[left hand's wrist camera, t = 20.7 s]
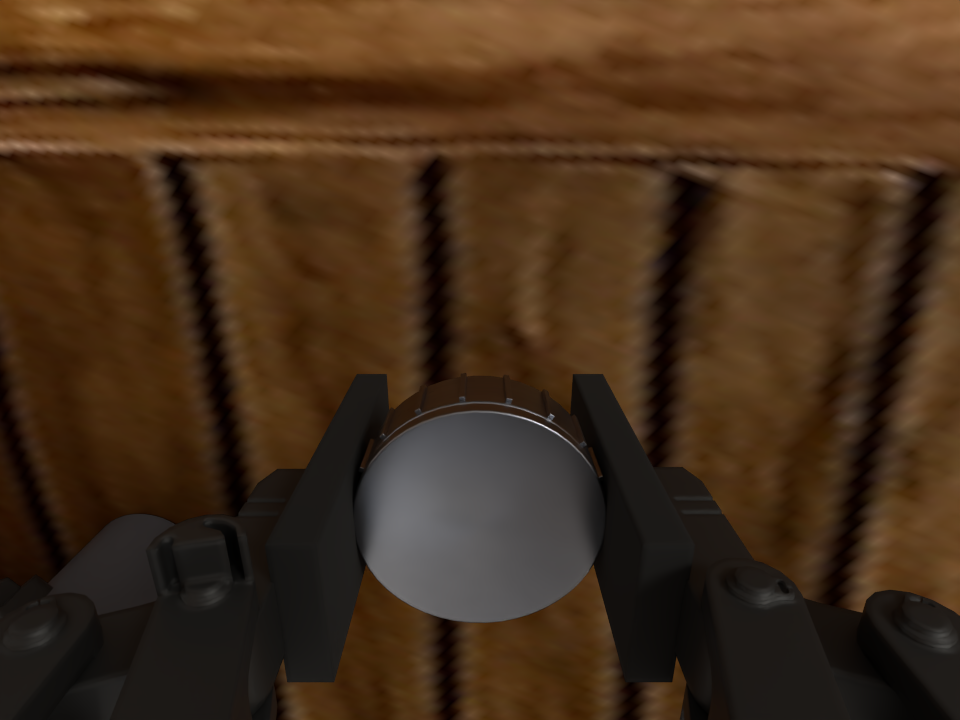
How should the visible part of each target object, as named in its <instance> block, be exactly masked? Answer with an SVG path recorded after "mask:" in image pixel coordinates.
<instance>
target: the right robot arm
mask: <svg viewBox="0 0 960 720" xmlns="http://www.w3.org/2000/svg"><path fill="white" fill-rule="evenodd" d="M52 589H53V587H52V586H51V585H49V584H48V583H47V582H45V581H44V580H43V579H41V578H40V577H39V576H37V575H34V576H33V577H32V578H31V579H29V580H28V581H27V582H26V583H25V584H23V585H22V586H21V587H20V586H19V585H17V584H16V583H15V582H13V581H12V580H11V579H9V578H4V579H0V619H1V618H2V617H4V616H5V615H6V614H8V613H9V612H11V611H13V610H15V609H17V608H19V607H21V606H23V605H24V604H26V603H28V602H31V601H34V600H37V599H40V598H43V597H46V596H47V595H48V594H49V593H50V591H51V590H52Z"/></svg>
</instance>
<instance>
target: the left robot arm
mask: <svg viewBox="0 0 960 720" xmlns="http://www.w3.org/2000/svg"><path fill="white" fill-rule="evenodd" d="M388 411H389V404H388V388H387V374H357V375H356V377H355V379H354V381H353V382H352V384H351V386H350V388H349V390H348V392H347V394H346V395H345V397H344V399H343V401H342V403H341V405H340V407H339V408H338V410H337V412H336V414H335V416H334V418H333V420H332V421H331V423H330V425H329V427H328V429H327V431H326V432H325V434H324V436H323V438H322V440H321V442H320V444H319V445H318V447H317V449H316V451H315V453H314V455H313V457H312V458H311V460H310V462H309V464H308V466H307V468H306V469H277V470H275V471H274V472H273V473H271V474H270V475H268V476H267V477H266V478H264V479H263V480H262V481H260V482H259V483H258V484H257V486H256V487H255V489H254V490H253V492H252V493H251V495H250V496H249V498H248V499H247V500H248V501H247V503H245V504H244V505H243V507H242V508H241V510H240V511H239V515H238V516H236V517H231V516H228V515H224V514H220V515H204V516H199V517H195V518H191V519H187V520H185V521H183V522H180V523H178V524H176V525H174V526H171V527H169V528H168V529H166V530H165V531H164V532H162V533H161V534H160V535H158V536H157V537H155V538H154V540H153V541H152V542H151V543H150V545H149V546H148V547H147V549H146V554H147V558H148V562H149V565H150V569H151V573H152V577H153V581H154V585H155V588H156V592H157V596H158V597H157V599H156V601H153V602H150V603H146V604H143V605H140V606H135V607H131V608H127V609H122V610H118V611H114V612H109V613H105V614H101V615H98V614H97V611H96V608H95V605H94V602H93V601H92V600H91V599H90V598H88V597H87V596H86V595H84V594H78V593H72V592H68V593H61V594H53V595H49V596H46V597H43V598H40V599H37V600H34V601H31V602H28V603H26V604H24V605H23V606H21V607H19V608H17V609H15V610H13V611H11V612H9V613H8V614H6V615H5V616H4V617H2V618H1V619H0V720H276V713H277V702H276V694H275V689H274V681H275V679H276V676H277V673H278V671H279V668H280V666H281V663H282V660H283V658H284V664H285V670H286V676H287V682H334V680H335V677H336V673H337V669H338V666H339V662H340V658H341V655H342V651H343V647H344V644H345V640H346V636H347V633H348V629H349V625H350V621H351V618H352V614H353V610H354V607H355V603H356V599H357V596H358V592H359V588H360V585H361V581H362V577H363V574H364V570H365V566H366V563H365V561H364V559H363V558H362V556H361V553H360V551H359V548H358V545H357V543H356V537H355V528H354V517H353V502H354V497H355V493H356V489H357V486H358V483H359V481H360V478H361V475H362V473H361V472H358V471H359V468H360V465H361V463H362V460H363V457H364V455H365V452H366V449H367V447H368V444H369V441H370V439H373V440H375V438H376V435H377V433H378V431H379V430H380V428H381V426H382V425H383V423H384V422H385V420H386V417H387V414H388ZM573 415H575V416H576V417H577V419H578V422H579V425H580V427H581V430H582V433H583V436H584V438H585V441H586V443H587V446H588V448H590V447H592V448H593V451H594V453H595V456H596V459H597V462H598V464H599V467H600V470H601V472H602V475H603V481H601V485H602V488H603V491H604V495H605V500H606V505H607V512H606V524H605V534H604V541H603V544H602V548H601V550H600V552H599V554H598V557H597V559H596V561H595V562H594V568H595V571H596V575H597V579H598V582H599V586H600V590H601V593H602V597H603V601H604V604H605V608H606V612H607V615H608V619H609V623H610V626H611V630H612V634H613V637H614V641H615V645H616V649H617V652H618V656H619V660H620V663H621V667H622V671H623V674H624V678H625V682H672V680H673V674H674V668H675V662H676V656H677V659H678V661H679V664H680V666H681V669H682V671H683V674H684V677H685V679H686V682H687V683H686V689H685V694H684V700H683V705H682V711H681V716H680V720H960V616H959V615H958V614H956V613H955V612H954V611H952V610H950V609H948V608H946V607H944V606H943V605H941V604H939V603H937V602H935V601H933V600H931V599H928V598H925V597H922V596H919V595H916V594H913V593H910V592H903V591H895V590H886V591H880V592H875V593H874V594H873V595H871V596H870V597H869V598H868V599H867V600H866V603H865V606H864V610H863V613H861V612H856V611H852V610H848V609H843V608H839V607H835V606H830V605H826V604H822V603H818V602H815V601H811V600H808V599H805V598H803V596H802V594H801V593H800V591H799V590H798V588H797V587H796V585H795V584H794V582H792V581H791V580H790V579H789V578H787V577H786V576H785V575H784V574H783V573H781V572H780V571H778V570H776V569H774V568H772V567H770V566H768V565H766V564H764V563H762V562H758V561H754V559H753V558H752V556H751V555H750V553H749V552H748V550H747V549H746V547H745V546H744V544H743V543H742V541H741V540H740V538H739V537H738V535H737V534H736V532H735V531H734V529H733V528H732V526H731V525H730V523H729V522H728V520H727V519H726V517H725V516H724V514H722V513H721V510H720V508H719V507H718V505H717V504H716V502H715V501H713V499H712V496H711V494H710V493H709V491H708V490H707V488H706V487H705V485H704V484H703V482H702V481H701V480H699V479H698V478H697V477H695V476H694V475H692V474H691V473H690V472H688V471H687V470H686V469H684V468H683V467H652V465H651V463H650V461H649V459H648V457H647V455H646V454H645V452H644V450H643V448H642V446H641V444H640V442H639V441H638V439H637V437H636V435H635V433H634V431H633V429H632V428H631V426H630V424H629V422H628V420H627V418H626V416H625V415H624V413H623V411H622V409H621V407H620V405H619V403H618V402H617V400H616V398H615V396H614V394H613V392H612V390H611V389H610V387H609V385H608V383H607V381H606V379H605V378H604V376H603V374H573V383H572V398H571V414H570V416H573Z"/></svg>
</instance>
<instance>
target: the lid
mask: <svg viewBox="0 0 960 720" xmlns="http://www.w3.org/2000/svg"><path fill="white" fill-rule="evenodd" d="M358 472H361V473H362V475H361V478H360V481H359V483H358V486H357V489H356V493H355V497H354V502H353V517H354V528H355V537H356V543H357V545H358V548H359V551H360V553H361V556H362V558H363V559H364V561H365V563H366V565H367V566H368V568H369V569H370V571H371V572H372V573H373V575H374V576H375V577H376V579H377V580H378V581H379V582H380V583H381V584H382V585H383V586H384V587H385V588H386V589H387V590H388V591H390V592H391V593H392V594H394V595H395V596H396V597H397V598H399V599H400V600H402V601H404V602H405V603H407V604H409V605H410V606H412V607H414V608H416V609H419V610H421V611H423V612H425V613H428V614H431V615H434V616H437V617H440V618H445V619H449V620H454V621H461V622H471V623H488V622H500V621H505V620H511V619H516V618H519V617H522V616H526V615H529V614H532V613H534V612H537V611H539V610H541V609H544V608H545V607H547V606H549V605H551V604H553V603H555V602H556V601H558V600H559V599H561V598H562V597H563V596H565V595H566V594H568V593H569V592H570V591H571V590H572V589H573V588H574V587H575V586H576V585H578V584H579V583H580V581H581V580H582V579H583V578H584V577H585V576H586V574H587V573H588V572H589V570H590V569H591V567H592V566H593V564H594V562H595V561H596V559H597V557H598V554H599V552H600V550H601V548H602V544H603V541H604V534H605V524H606V512H607V505H606V500H605V495H604V491H603V488H602V485H601V481H603V475H602V472H601V470H600V467H599V464H598V462H597V459H596V456H595V453H594V451H593V448H592V447H590V448H588V446H587V443H586V441H585V438H584V436H583V433H582V430H581V427H580V425H579V422H578V419H577V417H576V416H575V415H573V416H570V414H569V413H568V412H567V411H566V410H565V409H564V408H563V407H562V406H561V405H560V404H558V403H557V402H556V401H554V400H553V399H552V398H550V397H549V393H548V391H546V390H545V389H543V391H542V392H541V391H539V390H537V389H535V388H533V387H531V386H528V385H526V384H523V383H521V382H517V381H514V380H510V378H509V376H508V375H504V377H503V378H500V377H493V376H468V377H467V376H466V373H463V374H461V377H459V378H454V379H450V380H445V381H442V382H439V383H437V384H434V385H431V386H429V387H426V385H422V386H421V387H420V391H419V392H417V393H415V394H414V395H412V396H411V397H409V398H408V399H406V400H405V401H404V402H403V403H401V404H400V405H399V406H398V407H397V408H396V409H395V410H394V409H393V408H391V409H390V410H389V411H388V414H387V417H386V420H385V422H384V423H383V425H382V426H381V428H380V430H379V431H378V433H377V435H376V438H375V440H373V439H370V441H369V444H368V447H367V449H366V452H365V455H364V457H363V460H362V463H361V465H360V468H359V471H358Z"/></svg>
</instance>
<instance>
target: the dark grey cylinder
mask: <svg viewBox="0 0 960 720" xmlns="http://www.w3.org/2000/svg"><path fill="white" fill-rule="evenodd" d="M174 525H175V524H174V523H172V522H170V521H168V520H166V519H163V518H160V517H157V516H153V515H148V514H131V515H126V516H122V517H119V518H117V519H115V520H113V521H111V522H110V523H109V524H107V525H106V526H105V527H104V528H103V529H102V530H101V531H100V532H99V533H98V534H97V535H96V536H95V537H94V538H93V539H92V540H91V541H90V542H89V543H88V544H87V545H86V546H85V547H84V548H83V549H82V550H81V551H80V552H79V553H78V554H77V555H76V556H75V557H74V558H73V559H72V560H71V561H70V562H69V563H68V564H67V565H66V566H65V567H64V568H63V569H62V570H61V571H60V572H59V573H58V574H57V575H56V576H55V577H54V578H53V579H52V580H51V581H50V582H49V583H48V584H49V585H51V586H52V587H53V589H52V590H51V591H50V593H49V594H48V595H47V596H49V595H53V594H61V593H68V592H72V593H78V594H84V595H86V596H87V597H88V598H90V599H91V600H92V601H93V602H94V605H95V608H96V611H97V614H98V615H101V614H105V613H109V612H114V611H118V610H122V609H127V608H131V607H135V606H140V605H143V604H146V603H150V602H153V601H156V599H157V597H158V596H157V592H156V588H155V585H154V581H153V577H152V573H151V569H150V565H149V562H148V558H147V554H146V549H147V547H148V546H149V545H150V543H151V542H152V541H153V540H154V538H155V537H157V536H158V535H160V534H161V533H162V532H164V531H165V530H166V529H168V528H169V527H171V526H174Z"/></svg>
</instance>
